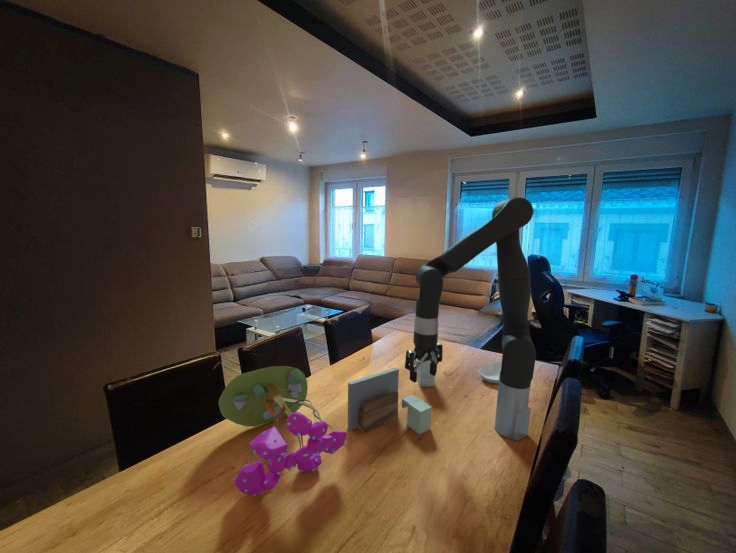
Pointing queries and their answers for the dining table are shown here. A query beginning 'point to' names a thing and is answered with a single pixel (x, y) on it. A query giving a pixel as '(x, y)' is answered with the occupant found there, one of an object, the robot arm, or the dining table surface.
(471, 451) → the dining table surface
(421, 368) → the skincare box
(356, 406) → the wall board
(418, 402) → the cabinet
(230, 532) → the dining table surface
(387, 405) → the brown wooden block
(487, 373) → the spoon rest
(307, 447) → the magenta clustered figurine
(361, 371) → the dining table surface
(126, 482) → the dining table surface
